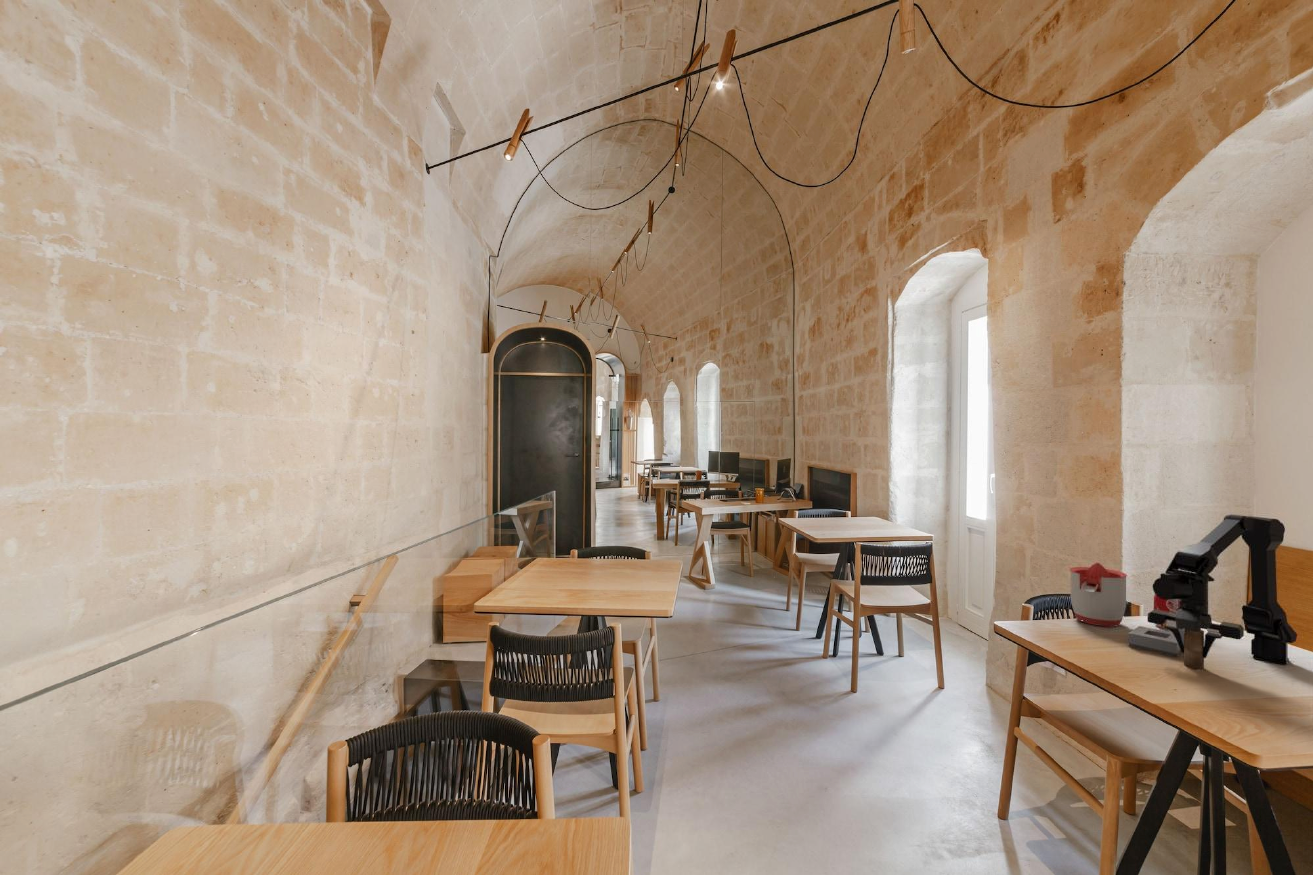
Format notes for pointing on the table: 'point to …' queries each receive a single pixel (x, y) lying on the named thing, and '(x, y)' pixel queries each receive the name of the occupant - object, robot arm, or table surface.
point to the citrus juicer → (1098, 595)
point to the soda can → (1166, 607)
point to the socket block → (1154, 641)
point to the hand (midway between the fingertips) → (1193, 655)
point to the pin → (1193, 649)
